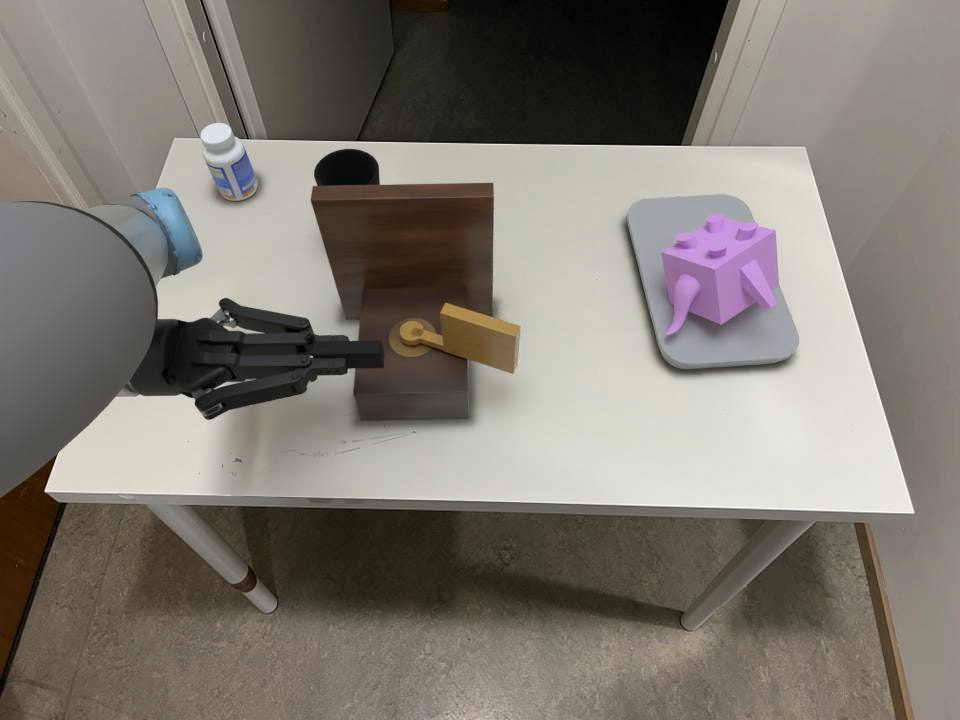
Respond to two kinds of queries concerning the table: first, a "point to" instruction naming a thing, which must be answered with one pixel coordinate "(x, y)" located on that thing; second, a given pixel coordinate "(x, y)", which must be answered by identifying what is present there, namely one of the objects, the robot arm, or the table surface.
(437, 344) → the lever
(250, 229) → the table surface
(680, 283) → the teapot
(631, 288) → the table surface
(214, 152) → the pill bottle
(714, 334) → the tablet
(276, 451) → the table surface
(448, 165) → the table surface
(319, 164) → the cup
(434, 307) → the case
